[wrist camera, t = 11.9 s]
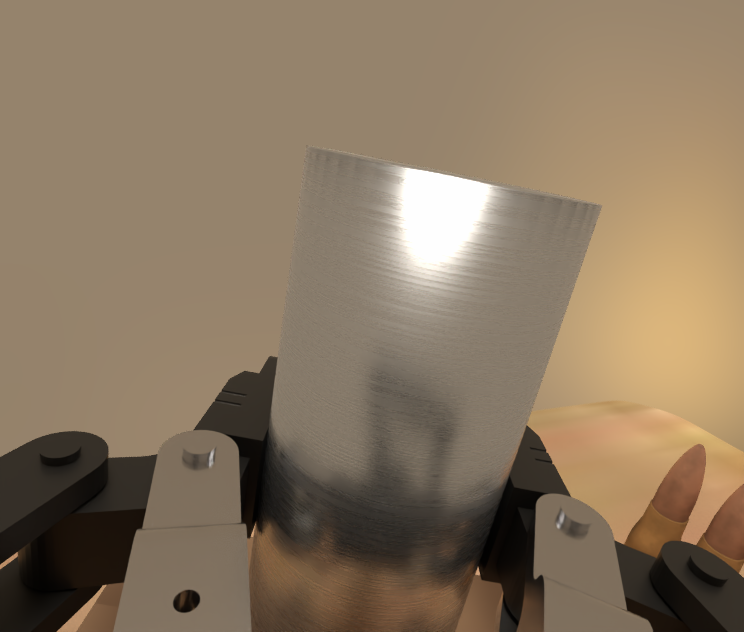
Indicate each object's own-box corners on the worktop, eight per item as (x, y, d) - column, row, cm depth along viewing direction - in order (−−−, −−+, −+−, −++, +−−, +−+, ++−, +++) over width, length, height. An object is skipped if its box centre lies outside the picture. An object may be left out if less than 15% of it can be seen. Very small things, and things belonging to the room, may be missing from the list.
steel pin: (403, 657, 14) (544, 191, 10) (410, 876, 10) (669, 221, 5) (254, 632, 14) (326, 147, 10) (195, 843, 10) (275, 142, 5)
